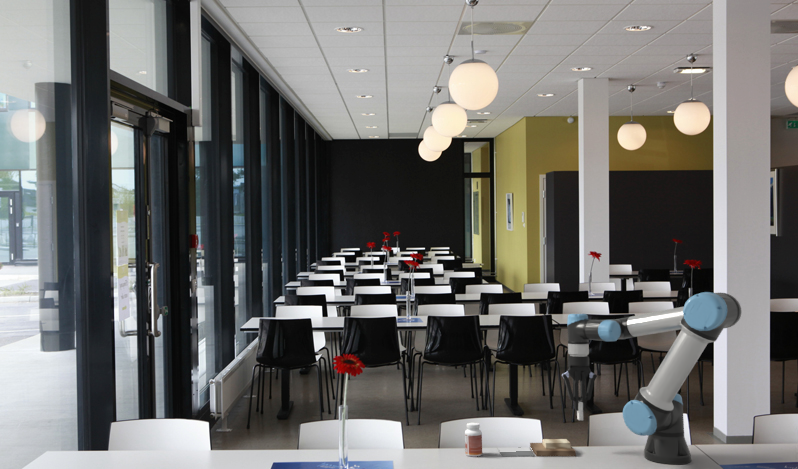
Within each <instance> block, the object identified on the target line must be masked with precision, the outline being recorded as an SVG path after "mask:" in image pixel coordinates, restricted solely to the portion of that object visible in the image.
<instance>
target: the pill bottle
mask: <svg viewBox="0 0 798 469" xmlns="http://www.w3.org/2000/svg"><path fill="white" fill-rule="evenodd" d="M480 428H481V426H480V423H479V422H468V423H466V429H465V431H464V447H465V448H464V449H465V450H464V451H465V455H466V456H467V457H475V458H476V457H477V456H478V457H482V456H483V433H482V430H481V429H480Z"/></svg>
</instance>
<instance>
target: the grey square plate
mask: <svg viewBox="0 0 798 469" xmlns="http://www.w3.org/2000/svg"><path fill="white" fill-rule="evenodd" d="M521 447H522V446H521ZM521 447H519V448H521ZM499 454H500V456H501V457H508V458H509V457H511V458H512V457H521V458H522V457H524V458H525V457H536V455H535V454H534V452H533V451H532V450H531V451H516V452H499Z"/></svg>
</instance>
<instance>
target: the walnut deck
mask: <svg viewBox="0 0 798 469" xmlns="http://www.w3.org/2000/svg"><path fill="white" fill-rule="evenodd" d="M530 447H531V448H532V450H533V451H532V450H531V451H532V452H533V453H534V455H535V457H576V456H577V453H576V452H577V451H576V449H574V447H572V446H571V449H546V448H545V447H544V446H543V445H542V442H529V448H530Z"/></svg>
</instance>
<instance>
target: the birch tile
mask: <svg viewBox="0 0 798 469" xmlns="http://www.w3.org/2000/svg"><path fill="white" fill-rule="evenodd" d="M541 443H542V445H543V446H544V447H545V448H546V449H571V447H572V444H571V442H570V441H569V440H568V439H567V438H557V439H556V438H550V439H549V438H543V439H542V442H541Z"/></svg>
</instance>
